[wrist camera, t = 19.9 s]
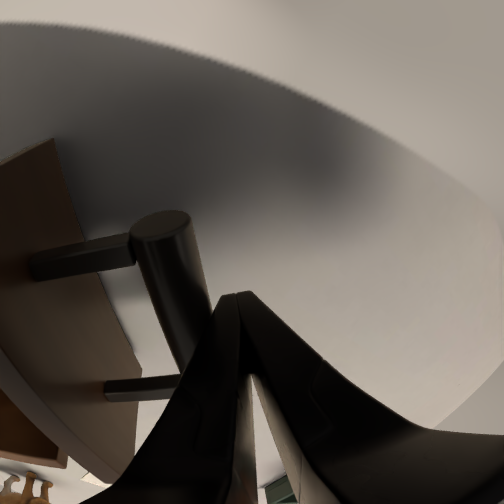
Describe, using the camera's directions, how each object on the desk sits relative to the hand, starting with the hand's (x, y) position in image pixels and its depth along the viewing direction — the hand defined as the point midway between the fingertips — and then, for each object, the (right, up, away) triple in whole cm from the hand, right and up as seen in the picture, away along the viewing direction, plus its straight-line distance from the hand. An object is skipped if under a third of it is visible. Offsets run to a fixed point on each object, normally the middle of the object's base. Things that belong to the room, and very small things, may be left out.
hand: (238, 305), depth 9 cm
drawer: (-10, 0, +2) cm, 10 cm away
